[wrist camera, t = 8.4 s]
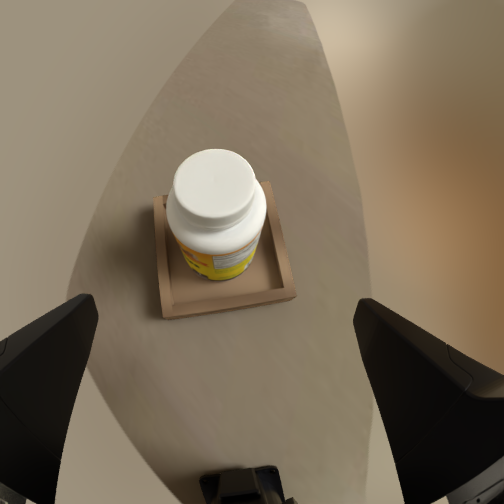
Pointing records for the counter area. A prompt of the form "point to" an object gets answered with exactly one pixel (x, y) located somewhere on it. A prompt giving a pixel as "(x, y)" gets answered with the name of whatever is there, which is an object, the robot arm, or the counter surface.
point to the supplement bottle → (216, 213)
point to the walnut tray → (228, 292)
